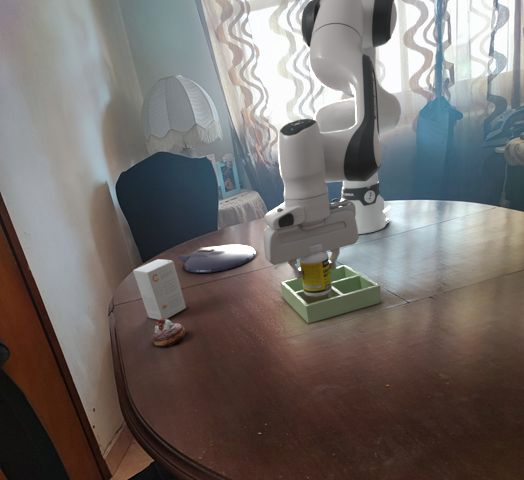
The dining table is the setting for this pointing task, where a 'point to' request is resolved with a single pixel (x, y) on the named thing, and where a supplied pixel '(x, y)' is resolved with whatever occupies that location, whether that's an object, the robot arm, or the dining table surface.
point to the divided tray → (333, 295)
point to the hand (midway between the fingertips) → (315, 273)
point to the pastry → (167, 333)
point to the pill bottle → (316, 272)
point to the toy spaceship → (217, 258)
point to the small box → (160, 289)
